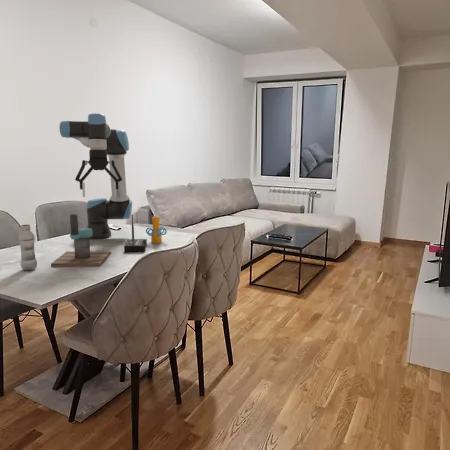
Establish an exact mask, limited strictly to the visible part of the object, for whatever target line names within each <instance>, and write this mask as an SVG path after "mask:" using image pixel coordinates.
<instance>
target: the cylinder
mask: <svg viewBox="0 0 450 450" xmlns="http://www.w3.org/2000/svg"><path fill="white" fill-rule="evenodd" d="M151 219H152V227H147V228H146V229H145V233H146V234H147V235H148V236H149V237H150V240H151V241H150V242H151V243H152V244H160V243H162V242H163V238H162V237H163V236H165V235H166V234H167V231H168V230H167V229H166V227H165V228H164V226H161V225H160V224H161V223H160V216H158V215H155V216H152V217H151ZM150 231H151V232H150Z"/></svg>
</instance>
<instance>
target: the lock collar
mask: <svg viewBox="0 0 450 450" xmlns="http://www.w3.org/2000/svg"><path fill="white" fill-rule="evenodd" d="M78 218H79V217H78V214H77V213H71V214H69V221H70V222H69V223H70V230H69V236H70V238H71V239H70V240H74V239H78V238H88V237H91V236H92V229H91V228H87V227H79V221H78V220H79V219H78Z"/></svg>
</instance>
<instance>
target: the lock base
mask: <svg viewBox="0 0 450 450" xmlns="http://www.w3.org/2000/svg"><path fill="white" fill-rule="evenodd" d="M90 243H91V242H90V238H89V237H88V238H78V239H73V247H74V250H73V251H72V250H69V251H67V250H66V251H65V252H63V253H62V254H61V255H60V256H59V257H57V258H56V259H55V260H53V262H51V263H50V266H51V267H52V268H53V267H54V268H56V267H57V268H58V267H59V268H60V267H61V268H62V267H70V268H71V267H101V266H102V265H103V264H104V263H105V262H106V260H107V259H108V258H109V256H110V255H111V253H112V251H111V250H91V244H90Z"/></svg>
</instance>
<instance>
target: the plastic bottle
mask: <svg viewBox="0 0 450 450" xmlns="http://www.w3.org/2000/svg"><path fill="white" fill-rule="evenodd" d="M20 230H21V231H20V233H19V234H18V242H19V247H20V256H21V257H20V266H21V269H22V270H23V271H33V270H35V269H36V268H37V267H38V261H37V258H36V253H35V242H36V241H35V237H36V236H35V234H34V233H33V231H31V224H22V225H20Z"/></svg>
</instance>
